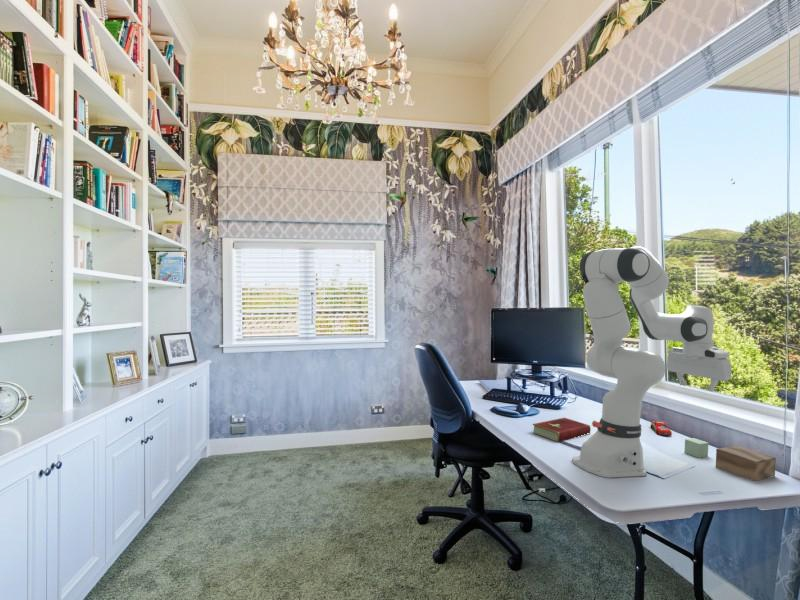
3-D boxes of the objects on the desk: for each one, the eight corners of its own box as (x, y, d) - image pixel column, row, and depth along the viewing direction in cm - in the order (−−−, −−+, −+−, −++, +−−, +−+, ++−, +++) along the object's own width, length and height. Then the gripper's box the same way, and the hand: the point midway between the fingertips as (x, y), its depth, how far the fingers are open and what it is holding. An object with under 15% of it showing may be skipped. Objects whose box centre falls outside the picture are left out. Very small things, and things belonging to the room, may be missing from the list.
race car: (673, 438, 164) (673, 428, 164) (657, 436, 166) (658, 426, 166) (663, 428, 177) (664, 419, 177) (649, 427, 179) (649, 418, 178)
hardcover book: (590, 435, 164) (590, 424, 164) (558, 443, 153) (558, 432, 153) (564, 426, 174) (564, 416, 174) (532, 433, 163) (532, 423, 163)
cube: (698, 458, 143) (699, 444, 143) (684, 452, 148) (685, 439, 147) (707, 456, 145) (708, 442, 145) (693, 451, 149) (693, 437, 149)
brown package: (754, 480, 125) (755, 461, 125) (715, 466, 135) (716, 448, 135) (774, 476, 129) (775, 457, 129) (735, 462, 140) (736, 445, 139)
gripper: (663, 346, 154) (662, 382, 155) (723, 354, 135) (722, 395, 136) (674, 346, 157) (673, 381, 157) (734, 353, 138) (733, 393, 138)
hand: (696, 388), depth 146 cm, fingers open, 8 cm apart
